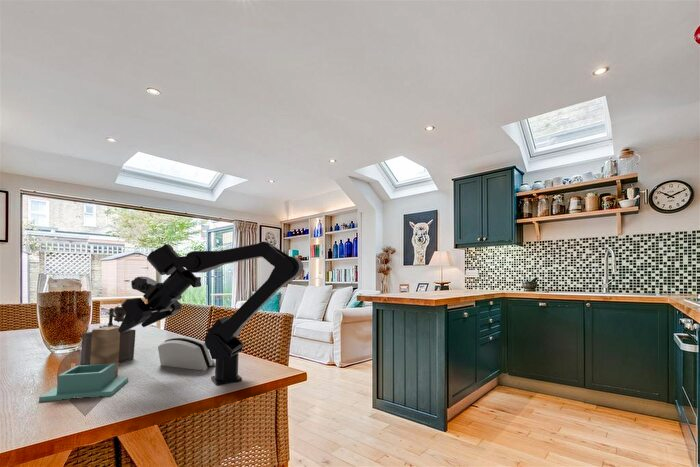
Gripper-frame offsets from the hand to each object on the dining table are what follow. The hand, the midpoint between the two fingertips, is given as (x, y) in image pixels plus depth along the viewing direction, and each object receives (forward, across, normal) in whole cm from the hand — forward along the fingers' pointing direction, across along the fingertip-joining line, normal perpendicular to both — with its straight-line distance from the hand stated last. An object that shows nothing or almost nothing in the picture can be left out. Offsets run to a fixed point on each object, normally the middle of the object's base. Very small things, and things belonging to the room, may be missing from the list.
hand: (131, 328), depth 96 cm
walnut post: (+14, 0, +4) cm, 15 cm away
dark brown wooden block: (+21, -16, -2) cm, 26 cm away
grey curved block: (+3, -12, +16) cm, 20 cm away
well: (+12, +10, +7) cm, 17 cm away
